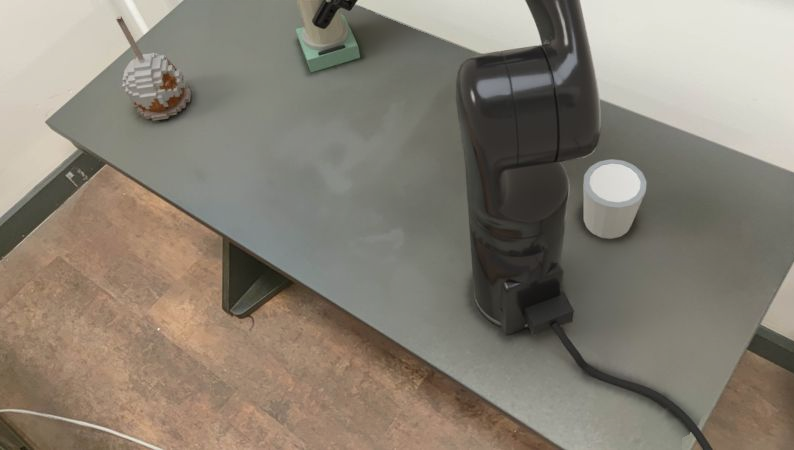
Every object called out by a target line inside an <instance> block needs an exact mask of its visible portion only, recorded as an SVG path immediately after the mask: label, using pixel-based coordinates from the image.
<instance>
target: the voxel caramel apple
mask: <svg viewBox="0 0 794 450" xmlns="http://www.w3.org/2000/svg"><path fill="white" fill-rule="evenodd" d="M115 20H116V22H117V23H118V26H119V27H120V29H121V31H122V33H123V34H124V37H125V38H126V40H127V42H128V44H129V45H130V48H131V49H132V51H133V53H134V54H135V56H136V57H135V58H133V59H131V61H129V62H128V64H127V65H126V68H125V69H124V71H123V76H122V84H121V88H122V89H123V91H124V92H125V94H126V96H127V97H128V99H129V101H130V103H131V104H134V107H133V108H134V109H135V110H137V111H136V112H137V114H138V115H140V117H142V118H144V119H145V120H148V119H151V121H154V122H155V121H160V120H167V119H169V118H170V117H171V116H175V115H176V116H177V115H178V113H179V112H181V111H182V109H185V108H186V105H187V103H191V96H192V90H191V88H189V84H188V83H186V80H185V75H184V73H183V71H182V70H181V68H178V67H177V66H176V64H175V63H173V62H172V61H171V59H170V58H168V56H167V54H161V55H160V54H159V53H155V52H150V53H143V54H142V52H141V49H140V48H139V46H138V45H137V42H136V41H135V39H134V37H133V36H132V34H131V31H130V29H129V28H128V26H127V24H126V22H125V20H124V18H123V17H122V15H119V16H116V18H115Z"/></svg>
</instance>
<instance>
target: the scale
mask: <svg viewBox="0 0 794 450" xmlns="http://www.w3.org/2000/svg"><path fill="white" fill-rule="evenodd" d="M341 19H342V24H343V34H342V35H341V37H340V38H339V39H337V40H336V41H334V42H331V43H328V44H316V43H313V42H311V41H310V40H309V39H308V37H307V34H306V32H305V28H304V26H302V27H297V28H295V33H296V35H297V38H298V41H299V45H300V47H301V49H302V52H303V56H304V58H305V61H306V63H307V66H308V68H309V72H310V73H314V72H317V71H321V70H324V69H328V68H331V67H335V66H337V65H341V64H344V63H348V62H351V61H355V60H358V59H360V58H361V54H360V49H359V45H358V43H357V41H356V38H355V36H354V33H353V31H352V30H351V27H350V24H349V23H348V21H347V18H346V16H345V14H343V15H341Z"/></svg>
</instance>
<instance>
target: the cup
mask: <svg viewBox="0 0 794 450" xmlns="http://www.w3.org/2000/svg"><path fill="white" fill-rule="evenodd" d="M295 1H296V2H297V3H296V4H297V8H298V11H299V14H300V17H301V21H302V24H303V27H304V28H305V32H306V34H307V37H308V39H309V40H310V41H311V42H313V43H316V44H328V43H331V42H334V41H336V40H337V39H339V38H340V37H341V35H342V34H343V24H342V19H341V16H342V15H341V12H340V8H339V9H338V10H337V12H336V14H335V16H334V17H333V19H332V21H331V22H330V24H329V26H327V28H325V29H322V28H319V27H316V26H315V25H314V24H313V23H312V19H313V17H314V16H315V14H316V12H317V10H318V9H319V7H320V5H321V3H322V2H323V0H295Z"/></svg>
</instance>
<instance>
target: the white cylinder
mask: <svg viewBox="0 0 794 450" xmlns="http://www.w3.org/2000/svg"><path fill="white" fill-rule="evenodd" d="M582 190H583V194H582V195H583V197H582V198H583V223H584V225H585V228H586V229H587V230H588V231H589V232H590V233H591V234H592V235H594V236H596V237H598V238H601V239H609V240H612V239H617V238H621V237H623V236H625V235H626V234H627V233H628V232H629V231H630V229H631V227H632V225H633V223H634V221H635V219H636V216H637V213H638V211H639V209H640V207H641V205H642V202H643V199H644V197H645V194H646V192H647V178H645V175H644V173H643V171H641V170H640V169H639V168H638V167H636V166H635V164H632V163H630V162H628V161H626V160H623V159H613V158H610V159H605V160H600V161H598V162H595V163H594V164H592V165H591V166H589V167H588V169H587V170H586V172H585V173H584V175H583V187H582Z"/></svg>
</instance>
